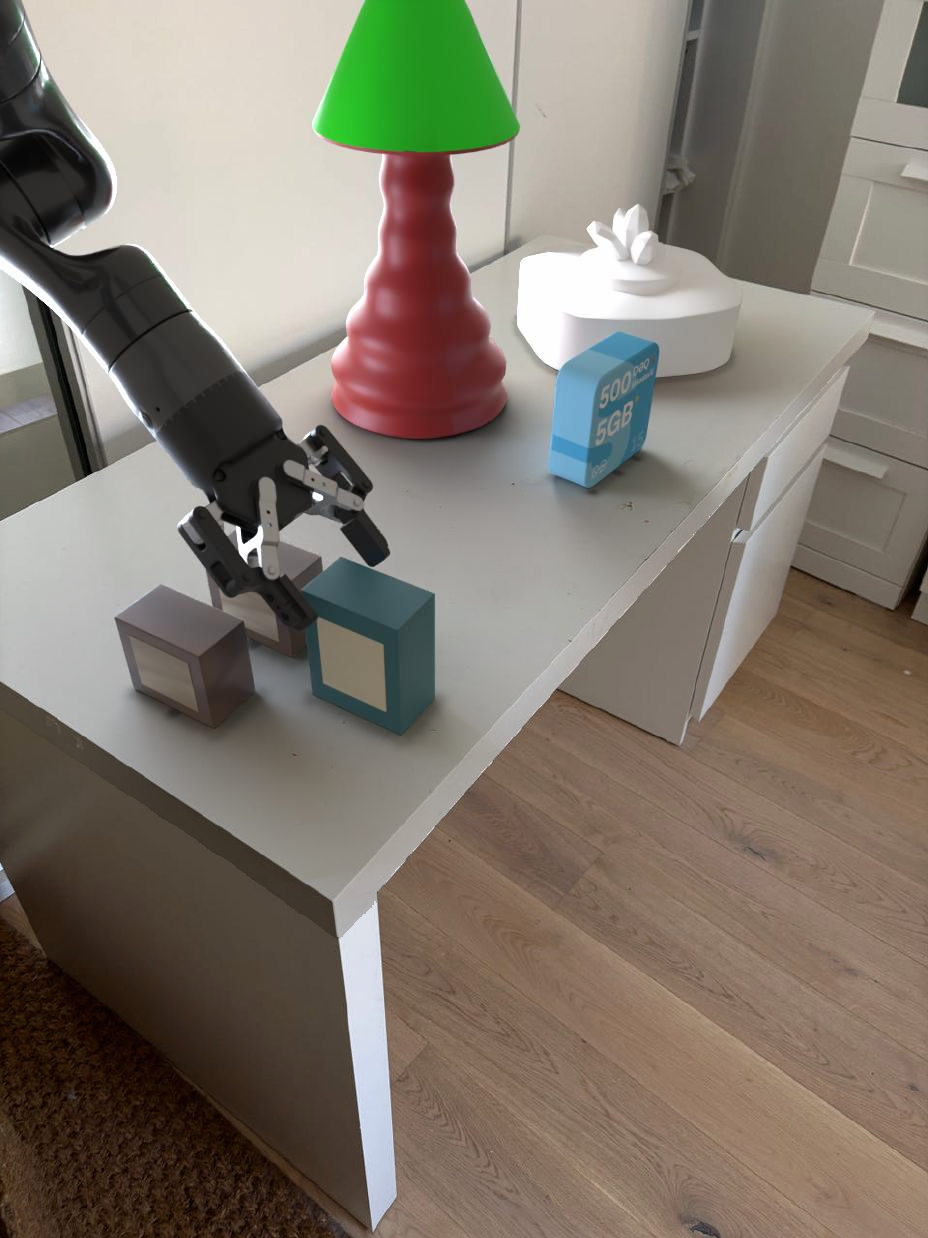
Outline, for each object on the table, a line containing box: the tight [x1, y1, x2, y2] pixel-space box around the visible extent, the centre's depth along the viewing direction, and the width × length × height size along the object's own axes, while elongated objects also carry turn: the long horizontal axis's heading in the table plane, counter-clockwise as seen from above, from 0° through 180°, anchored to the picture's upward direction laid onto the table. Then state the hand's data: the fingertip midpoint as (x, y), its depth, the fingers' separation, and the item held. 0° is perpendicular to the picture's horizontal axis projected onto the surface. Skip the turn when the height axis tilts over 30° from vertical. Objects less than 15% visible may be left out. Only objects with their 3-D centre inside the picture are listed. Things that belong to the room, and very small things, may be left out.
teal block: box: [301, 556, 436, 736], centre depth 69 cm, size 5×8×10 cm, turn 59°
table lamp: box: [311, 0, 521, 440], centre depth 95 cm, size 20×20×45 cm
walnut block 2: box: [205, 528, 324, 658], centre depth 76 cm, size 5×8×7 cm, turn 59°
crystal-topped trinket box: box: [516, 203, 744, 379], centre depth 119 cm, size 25×25×16 cm
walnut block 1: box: [113, 583, 256, 729], centre depth 70 cm, size 5×8×7 cm, turn 59°
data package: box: [548, 332, 659, 489], centre depth 96 cm, size 12×4×12 cm, turn 142°
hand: (346, 591), depth 67 cm, fingers open, 8 cm apart
